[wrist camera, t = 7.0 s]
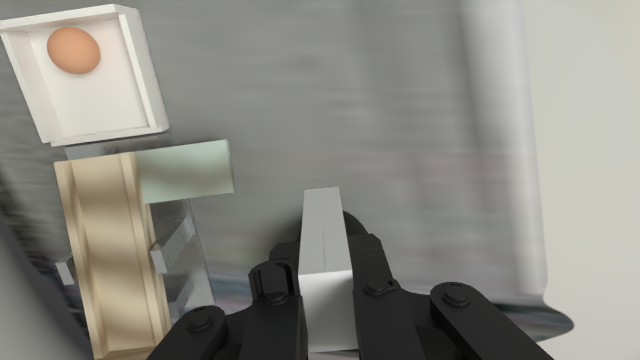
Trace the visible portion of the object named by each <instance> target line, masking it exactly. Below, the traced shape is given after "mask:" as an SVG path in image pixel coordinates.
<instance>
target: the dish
mask: <svg viewBox="0 0 640 360" xmlns="http://www.w3.org/2000/svg"><path fill="white" fill-rule="evenodd" d="M64 27H74V28H78V29H81V30H83V31H85V32H87V33H88V34H89V35H91V36H92V37H93V38H94V40H95V41H96V42H97V44H98V46H99V49H100V60H99V63H98V65H97V66H96V67H95V68H94V69H93V70H92V71H90V72H88V73H85V74H72V73H68V72H66V71H63V70H62V69H60V68H59V67H57V66H56V65H55V64H54V63H53V62H52V60H51V59H50V57H49V55H48V51H47V41H48V39H49V37H50V35H51V34H52V33H53V32H54V31H56V30H58V29H60V28H64ZM0 35H1V38H2V41H3V43H4V46H5V48H6V51H7V53H8V56H9V59H10V61H11V64H12V66H13V69H14V71H15V74H16V77H17V79H18V82H19V84H20V87H21V89H22V92H23V94H24V97H25V100H26V102H27V105H28V107H29V110H30V112H31V115H32V118H33V120H34V123H35V125H36V128H37V130H38V133H39V136H40V138H41V141H42V143H48V142H50V143H51V146H52V147H54V146H61V145H69V144H76V143H83V142H91V141H98V140H105V139H113V138H120V137H128V136H135V135H142V134H150V133H157V132H163V131H165V130H167V129H169V128H170V126H169V122H168V118H167V114H166V111H165V107H164V103H163V100H162V96H161V92H160V88H159V85H158V81H157V77H156V74H155V70H154V66H153V62H152V59H151V55H150V51H149V48H148V44H147V40H146V36H145V33H144V29H143V25H142V22H141V18H140V14H139V10H138V9H134V8H130V7H125V6H121V5H116V4H109V5H102V6H95V7H89V8H82V9H75V10H69V11H62V12H55V13H48V14H42V15H35V16H28V17H21V18H15V19H8V20H1V21H0Z"/></svg>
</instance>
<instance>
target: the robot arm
mask: <svg viewBox="0 0 640 360" xmlns="http://www.w3.org/2000/svg"><path fill="white" fill-rule="evenodd" d="M248 276H249V282H250V287H251V292H252V297H253V302H252V305H251V306H249V307H248V308H246V309H244V310H241V311H239V312H236V313H233V314H230V315H226V316H225V313H224V311H223V310H222V309H221V308H220V307H217V306H212V305H211V306H202V307H198V308H195V309H193V310H191V311H189V312H187V313H186V314H184V315H183V316H182V317H181V318H180V319H179V320H178V321H177V322H176V323H175V325H174V326H173V327H172V328H171V329H170V331H169V332H168V333H167V334H166V335H165V337H164V338H163V339H162V340H161V342H160V343H159V344H158V345H157V346H156V348H155V349H154V350H153V351H152V352H151V354H150V355H149V356H148V357H147V358H146V360H308V349H309V353H312V352H324V351H335V350H346V349H358V350H359V360H554V359H553V358H552V357H551V356H550V355H549V354H547V353H546V352H545V351H544V350H543V349H542V348H541V347H540V346H539V345H537V344H536V343H535V342H534V341H533V340H532V339H531V338H530V337H529V336H528V335H526V334H525V333H524V332H523V331H522V330H521V329H520V328H519V327H518V326H516V325H515V324H514V323H513V322H512V321H511V320H510V319H509V318H508V317H507V316H505V315H504V314H503V313H502V312H501V311H500V310H499V309H498V308H497V307H495V306H494V305H493V304H492V303H491V302H490V301H489V300H488V299H487V298H486V297H484V296H483V295H482V294H481V293H480V292H479V291H478V290H476V289H474V288H473V287H471V286H469V285H466V284H463V283H458V282H445V283H441V284H438V285H436V286H435V287H434V288H433V289H432V290H431V292H430V295H423V294H416V293H411V292H409V291H406V290H404V289H402V288H401V286H400V285H399V283H398V282H397V280H395V279H393V277H392V274H391V271H390V268H389V265H388V262H387V259H386V256H385V253H384V250H383V247H382V244H381V241H380V239H378V238H377V237H376V236H375V235H373V234H362V235H352V236H346V229H345V223H344V217H343V211H342V205H341V199H340V193H339V187H329V188H319V189H309V190H305V192H304V205H303V218H302V231H301V241H300V242H289V243H279V244H277V245H276V246H275V247H274V248H273V249H272V250H271V251H270V256H269V261H265V262H263V263H261V264H258V265H257V266H255V267H254V268H253V269H251V271H250V273H249V274H248Z"/></svg>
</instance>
